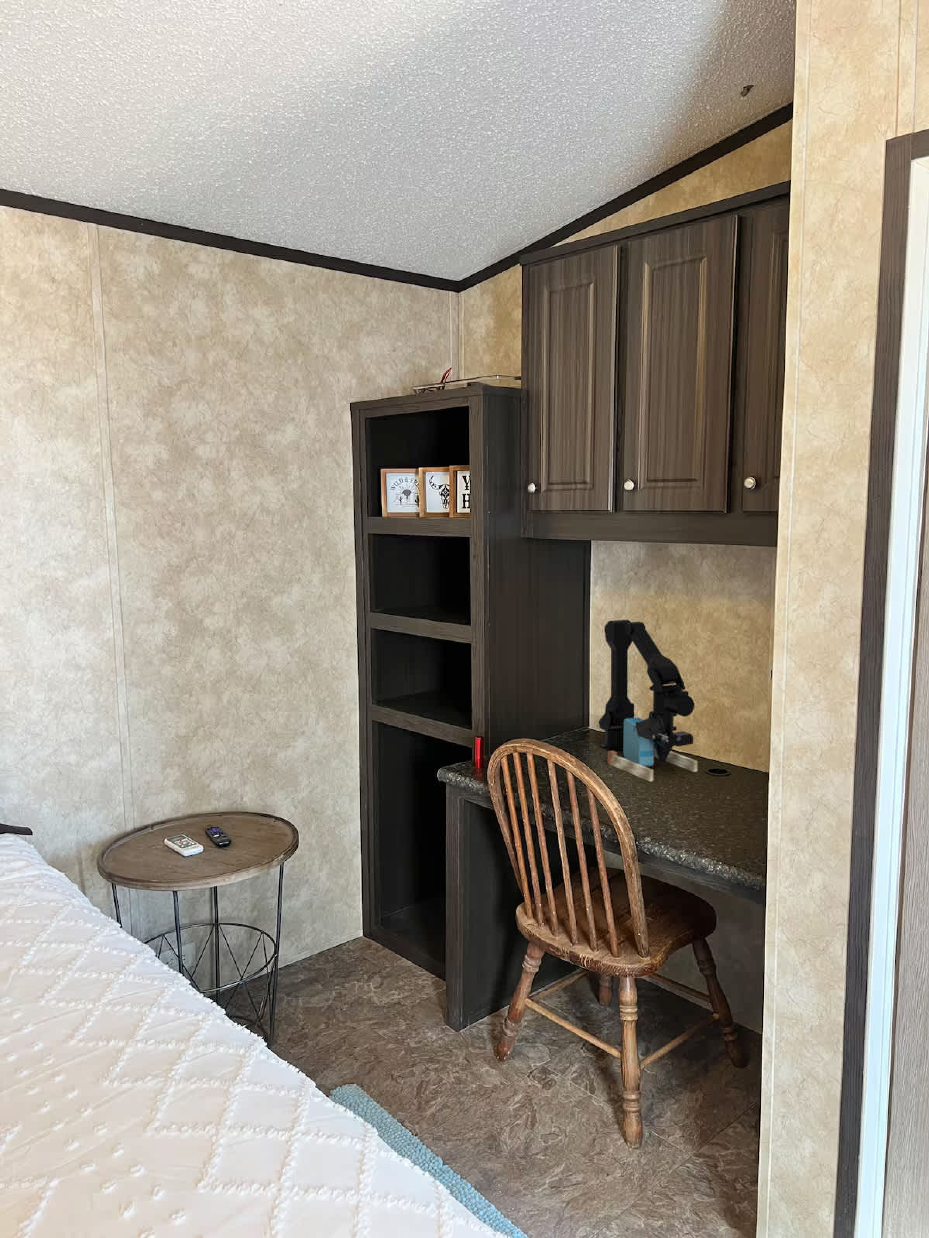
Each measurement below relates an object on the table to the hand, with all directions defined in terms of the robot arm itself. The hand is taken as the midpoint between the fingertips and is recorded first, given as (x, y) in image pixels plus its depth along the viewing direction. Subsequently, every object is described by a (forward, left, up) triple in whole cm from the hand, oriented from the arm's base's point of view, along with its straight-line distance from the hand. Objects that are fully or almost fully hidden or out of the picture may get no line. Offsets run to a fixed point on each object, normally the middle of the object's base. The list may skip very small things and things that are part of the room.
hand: (662, 762), depth 261 cm
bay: (-4, 0, -3) cm, 4 cm away
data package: (-10, 0, -3) cm, 10 cm away
